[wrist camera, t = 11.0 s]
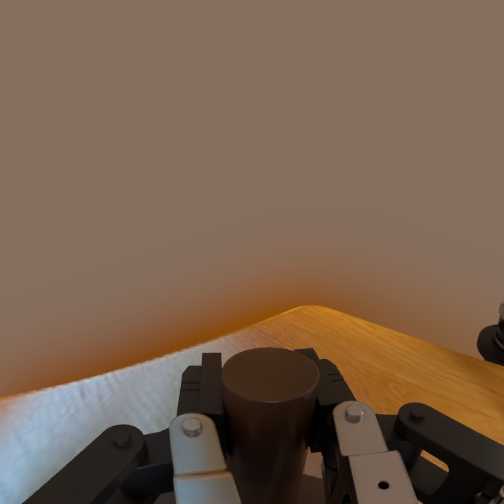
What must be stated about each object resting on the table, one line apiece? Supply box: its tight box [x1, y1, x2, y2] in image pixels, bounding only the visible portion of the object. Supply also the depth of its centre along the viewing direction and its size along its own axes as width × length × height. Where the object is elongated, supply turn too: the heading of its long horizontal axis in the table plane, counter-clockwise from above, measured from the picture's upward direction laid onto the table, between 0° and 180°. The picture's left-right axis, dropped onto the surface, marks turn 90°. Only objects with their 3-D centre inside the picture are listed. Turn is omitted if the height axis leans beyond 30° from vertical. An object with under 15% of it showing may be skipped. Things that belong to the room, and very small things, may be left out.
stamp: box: [154, 348, 326, 504], centre depth 10 cm, size 5×12×11 cm, turn 64°
